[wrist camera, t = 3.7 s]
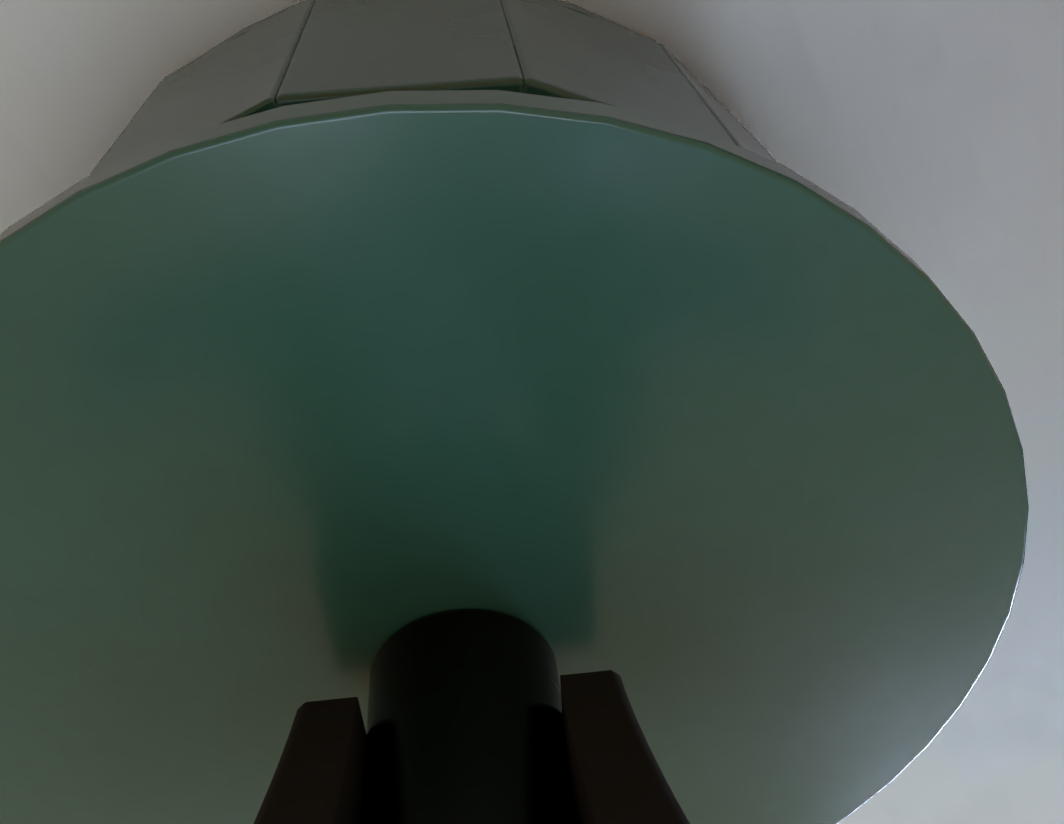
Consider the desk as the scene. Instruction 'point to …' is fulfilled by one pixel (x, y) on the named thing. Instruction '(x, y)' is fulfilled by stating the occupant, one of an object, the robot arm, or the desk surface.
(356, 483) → the tin lid
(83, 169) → the desk surface
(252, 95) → the tin
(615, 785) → the robot arm
